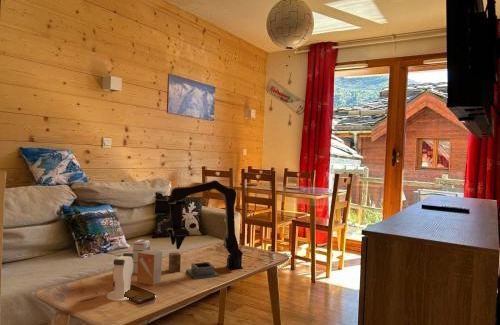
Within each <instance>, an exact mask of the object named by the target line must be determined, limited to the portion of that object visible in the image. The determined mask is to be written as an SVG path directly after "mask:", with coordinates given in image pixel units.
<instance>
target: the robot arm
mask: <svg viewBox="0 0 500 325" xmlns="http://www.w3.org/2000/svg"><path fill="white" fill-rule="evenodd" d="M211 190H216V191H218V192H219V193H220V194H221V195H222V200H223V203H224V206H225V226H226V229H225V230H226V235H225V236H224V237H222V240H223V241H222V242H223V244H222V246H223V247H224V249H225V250H226V251H227V252H228V255H227V258H226V265H225V266H226V267H227V268H228V269H230V270H240V269H243V268H244V266H242V263H243V261H242V260H243V254H244V253H243V252H242V250H240V248H239V243H238V240H237V237H236V227H235V226H236V225H235V224H236V222H235V203H236V199H237V192H236V190H235V189H234V188H231V187H230V186H225V185H224V184H222V183H220V182H219V181H218V180H215V179H213V180H210V181H206V182H203V183H198V184H194V185H190V186H175V187H173V188H172V189H171V191H170V194H169V196H167V198H166V199H155V200H154V208H153V211H154V212H153V213H154V215H167V214H168V213H169V212H170V214H169V215H168V218H167V219H163V220H162V221H160V222H157V227H158V230H160V231H161V232H163V231H165V230H166V232H167V233H168V234H169V238H170V243H171V245H173V246H174V245H175V247H176V250H180V248H181V247H182V244H183V242H184V240H185V239H186V237H187V236H188V234H189V233H188V232H189V231H188V229H186V228H185V227H184V225H183V220H184V219H185V217H184V216H183V214H184V213H183V212H184V211H183V209H184V206H187V205H188V202H186V201H185V199H186V198H187V197H189V196H191V195H195V194H199V193H203V192H207V191H211Z"/></svg>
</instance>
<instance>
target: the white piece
mask: <svg viewBox="0 0 500 325" xmlns="http://www.w3.org/2000/svg"><path fill="white" fill-rule="evenodd" d="M133 257H134V256H133V252H131V253H130V252H127V253H126V252H124V253H123V254H122V255H121V256H120V255H119V257H117V258H115V259H114V260H113V269H112V277H113V283H112V286H113V288H114V290H113V291H110V292H108V293H106V294H107V295H106V298H107V299H108V300H110V301H115V302H124V301H129V298H127V297H124V294H125V292H127V291H128V290H130V289H131V280H132V276H133Z"/></svg>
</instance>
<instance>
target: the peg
mask: <svg viewBox="0 0 500 325" xmlns="http://www.w3.org/2000/svg"><path fill="white" fill-rule="evenodd" d="M181 258H182V256H181V253H180V252H176V251H175V252H169V253H168V271H169V272H170V273H177V272H178V273H179V272H181Z"/></svg>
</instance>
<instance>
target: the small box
mask: <svg viewBox="0 0 500 325" xmlns="http://www.w3.org/2000/svg"><path fill="white" fill-rule="evenodd" d="M162 258H163V251H162V250H161V251H158V250H155V249H154V250H152V249H150V250H144V251H141V252H139V253H138V270H137V275H136V276H137V277H136V283H137V284H144V285H149V286H155V285H156V284H159V283H160V282H162V262H163V260H162Z"/></svg>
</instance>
